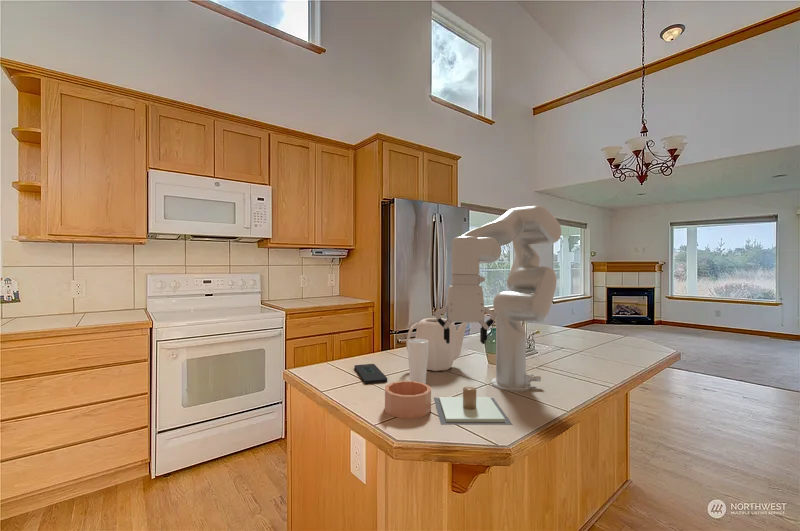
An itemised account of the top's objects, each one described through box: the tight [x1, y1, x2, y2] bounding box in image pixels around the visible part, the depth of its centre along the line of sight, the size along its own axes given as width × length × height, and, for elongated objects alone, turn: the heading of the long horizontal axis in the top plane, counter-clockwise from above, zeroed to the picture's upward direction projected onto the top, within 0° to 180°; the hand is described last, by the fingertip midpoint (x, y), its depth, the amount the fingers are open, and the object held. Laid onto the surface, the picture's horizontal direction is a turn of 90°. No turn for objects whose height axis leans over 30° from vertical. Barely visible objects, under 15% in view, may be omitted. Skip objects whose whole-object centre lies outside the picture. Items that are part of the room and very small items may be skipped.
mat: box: [433, 397, 513, 426], centre depth 99 cm, size 18×18×1 cm
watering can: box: [405, 317, 470, 372], centre depth 141 cm, size 16×27×19 cm, turn 105°
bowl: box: [384, 380, 432, 419], centre depth 100 cm, size 13×13×6 cm
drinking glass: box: [407, 338, 428, 384], centre depth 120 cm, size 7×7×15 cm
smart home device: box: [353, 363, 388, 385], centre depth 131 cm, size 8×2×20 cm
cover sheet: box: [438, 386, 505, 422], centre depth 99 cm, size 15×15×6 cm
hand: (465, 342), depth 99 cm, fingers open, 9 cm apart
